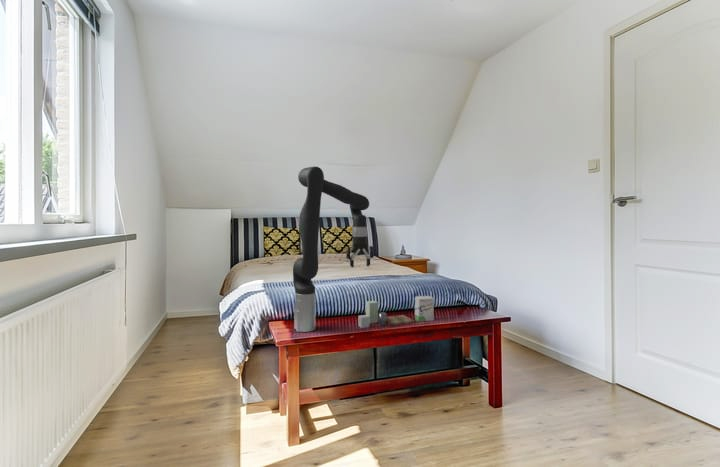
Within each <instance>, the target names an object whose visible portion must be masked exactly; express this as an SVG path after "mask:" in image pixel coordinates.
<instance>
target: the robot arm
mask: <svg viewBox="0 0 720 467" xmlns="http://www.w3.org/2000/svg"><path fill="white" fill-rule="evenodd" d="M297 178H298V182H299V183H300V185H302V186H303V187H305V188H307V190H306V191H307V192H306V193H307V194H306V198H305V202H304V204H303V205H302V208H301V210H300V213H299V221H298V232H299V237H300V240H301V243H302V257H299V258H297V259H296V260H295V261H294V262H293V267H292V280H293V281H292V282H293V287H294V292H295V293H294V294H295V297H294V299H295V301H294V302H295V308H293V309H294V310H293V311H294V313H293V318H294V320H293V321H294V324H293V326H294V329H296V330H295V331H296V332H298V333H299V332H301V333H306V332H307V333H308V332H313V331H315V330H316V286H315V285H314V283H313V282H312V279H314V278H315V277H316V276H317V274H318V271H319V249H318V248H319V234H320V233H319V232H320V231H319V230H320V218H321V205H322V204H321V203H322V202H321V201H322V193H323V194H325V195H328V196H329V197H332V198H333V199H335V200H337V201H339V202H341V203H342V204H346V205H349V208H350V214H351V217H352V247H349V246H346V256H345V257H346V259H348V260H349V265H350V266H349V267H350V268H355V262H354V261H355V260H354V259H355V258H356V257H357V256H364V257H366V260H365V261H366V262H365V263H366V267H370V266H371V259H373V258H374V257H375V256H374V255H375V254H374V246H372V245H369V246H368V228H367V226H368V225H367V216H366V215H365V214H363V213H362V211H366V210H368V208H369V207H370V200H369V199H368V197H367V196H365V195H363V194H360V193H357V192H354V191H352V190H350V189H348V188H346V187H345V186H343V185H341V184H338V183H334V182H332V181H329V180H326V179H325V175H324V171H323V170H322V168H320V167H319V166H309V167H304V168H302V169H300V171H299V172H298V175H297ZM352 251H353V252H352ZM367 251H369V252H367ZM351 252H352V254H351Z"/></svg>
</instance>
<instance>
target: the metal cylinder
mask: <svg viewBox="0 0 720 467" xmlns="http://www.w3.org/2000/svg"><path fill="white" fill-rule="evenodd" d="M386 317H387V313H386V312H382V311H381V312H378V327H382V328H384V327H387V321H386Z"/></svg>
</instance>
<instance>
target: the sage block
mask: <svg viewBox="0 0 720 467" xmlns="http://www.w3.org/2000/svg"><path fill="white" fill-rule="evenodd" d="M365 315H367V316H369V324H375V323H379V302H378V301H376V300H367V301H365Z"/></svg>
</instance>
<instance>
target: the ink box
mask: <svg viewBox="0 0 720 467" xmlns="http://www.w3.org/2000/svg"><path fill="white" fill-rule="evenodd" d="M434 299H435V298H434V297H433V296H431V295H421V296H415V297H414V320H415V321H417V322H428V321H434V320H435V318H434V317H435V316H434V312H435V311H434V309H435V305H434V302H435V301H434Z"/></svg>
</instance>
